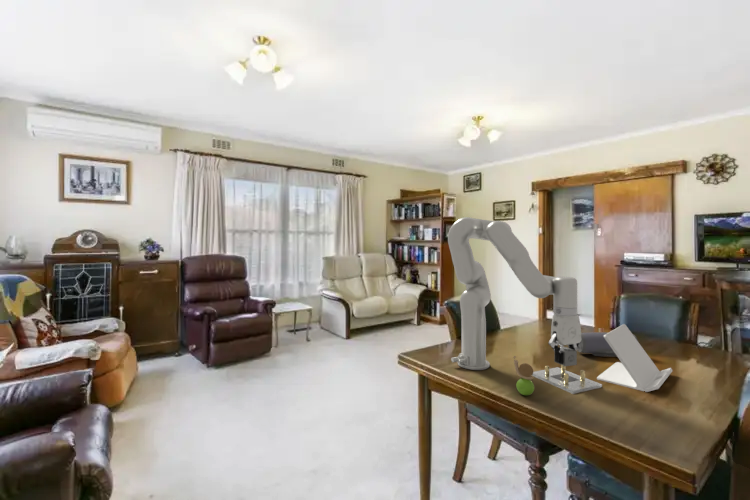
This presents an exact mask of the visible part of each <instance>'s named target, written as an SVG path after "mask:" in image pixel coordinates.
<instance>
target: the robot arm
mask: <svg viewBox="0 0 750 500" xmlns="http://www.w3.org/2000/svg"><path fill="white" fill-rule="evenodd" d="M470 239H475V240H482V241H489V242H490V243H491V244H492V246H494V248H495V249H496V251H498V253H499V254H500V255H501V256H502V257H503V259H504V260H505V262H506V263H507V264H508V267H509V268H510V269H511V270H512V272H513V273H514V275H515V276H516V278H517V279H518V280H519V282H520V283H521V285H522V286H524V288H525V289H526V291H528V293H529V294H530V295H531V296H533V297H534V298H537V299H545V298H546V297H549V295H550V296H551V295H553V310H552V313H553V315H552V318H551V320H552V321H551V325H550V326H551V328H550V339H549V341H548V345H549V346H550V347H551V349H552V350H553V352H554V351H555V362H554V363H556V362H557V364H558V363H560V364H559V365H561V364H563V353H562V350H563V347H565V346H567V348H570V349H573V350H576V351H577V347H578V345H579V343H580V342H581V340H582V338H581V333H582V329H581V328H582V326H581V322H580V321H581V320H580V316H579V314H578V281H577V279H576V277H572V276H550V275H546V274H543V273H542V271H540V270H539V269H538V268H537V266H536V265H535V263H534V262H533V260H532V259H531V256H530V254H529V251H528V249H527V247H525V245H524V244H523V243H522V242H521V241H520V240H519V238H518V237H517V236H516V235H515V234H514V232H513V230H512V228H511V225H509V224H508V223H507V222H505V221H503V220H487V219H480V218H473V217H471V216H470V217H469V216H468V217H467V216H466V217H461V218H458V220H456V221H455V222H454V223H453V224H452V225H451V227H450V228H449V231H448V234H447V243H448V248H449V251H450V255H451V261H452V264H453V267H454V273H455V276H456V279H457V281H458V282H459V283H460V284H463V285H465V287H466V289H465V290H464V291H463V292H462V293H461V294H460V297H459V307H460V314H461V315H460V317H461V325H460V326H461V352H460V353H459V354H458V356H454V357H451V358H450V360H451V363H457V365H458V366H459V367H461V368H463V369H466V370H470V371H482V370H483V371H484V370H487V369H489V368H490V367H491V363H490V362H489V360H487V357H486V355H487V354H486V353H487V349H486V348H487V344H486V343H487V340H486V339H487V321H486V320H487V319H486V317H487V316H486V308H485V307H486V306H487V305H488V304H489V303H491V302H490V301H491V298H492V296H491V289H490V286H489V282H488V279H487V275H486V272H485V269H484V267H483V265H482V264H481V263H480V262H479V261H477V260H475V258H474V254H473V250H472V247H471V245H470Z"/></svg>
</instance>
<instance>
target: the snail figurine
mask: <svg viewBox="0 0 750 500" xmlns="http://www.w3.org/2000/svg"><path fill="white" fill-rule="evenodd" d="M516 358H517V356H516V355H514V356H513V364H514V369H515V372H516V374H517V376H519V377H520V378H519V379H517V381H516V384H515V386H516V389H517V392H518V393H519V394H521V395H522V396H530V395H532V394H533V393H534V392H535V385H534V382H533V381H532V380H533V379H534V376H532V374H533V372H534V368H533V367H532V366H531V365H530V364H529V363H525V362H524V363H521V364H520V365H519V361H518V360H517V359H516Z"/></svg>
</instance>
